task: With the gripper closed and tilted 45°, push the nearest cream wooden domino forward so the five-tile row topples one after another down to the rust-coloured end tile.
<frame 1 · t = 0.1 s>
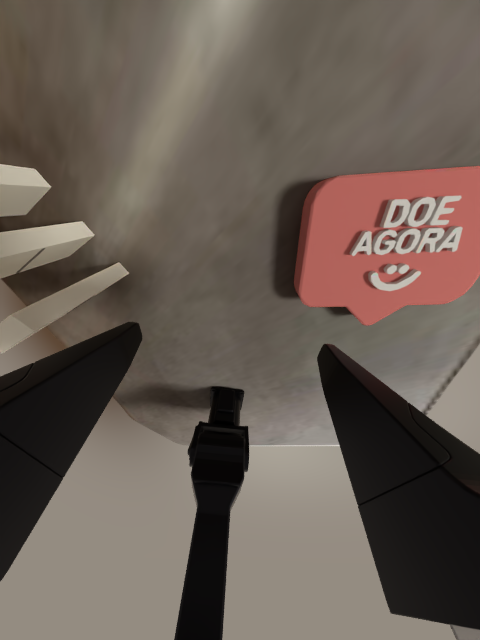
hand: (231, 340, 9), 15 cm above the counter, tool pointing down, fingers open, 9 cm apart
domino 1: (111, 276, 23), on the counter
plaque: (373, 256, 21), on the counter
domino 2: (75, 239, 21), on the counter
domino 3: (30, 193, 18), on the counter
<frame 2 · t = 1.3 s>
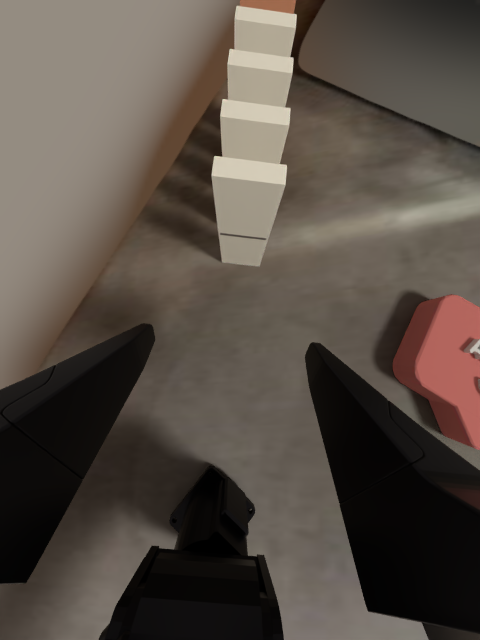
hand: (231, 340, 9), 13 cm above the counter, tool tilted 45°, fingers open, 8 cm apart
domino 1: (241, 258, 24), on the counter
plaque: (458, 379, 23), on the counter
domino 2: (244, 225, 25), on the counter
domino 3: (248, 194, 26), on the counter
domino 4: (251, 165, 26), on the counter
domino 5: (254, 138, 27), on the counter
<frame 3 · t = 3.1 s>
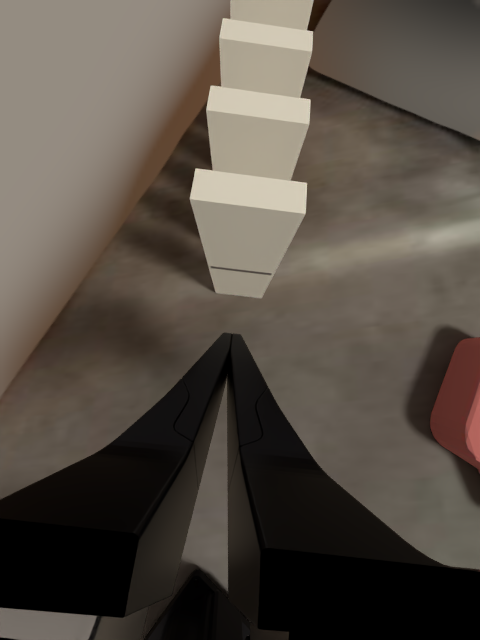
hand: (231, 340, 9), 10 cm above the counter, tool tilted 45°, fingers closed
domino 1: (239, 288, 20), on the counter
domino 2: (243, 247, 21), on the counter
domino 3: (248, 209, 21), on the counter
domino 4: (252, 176, 22), on the counter
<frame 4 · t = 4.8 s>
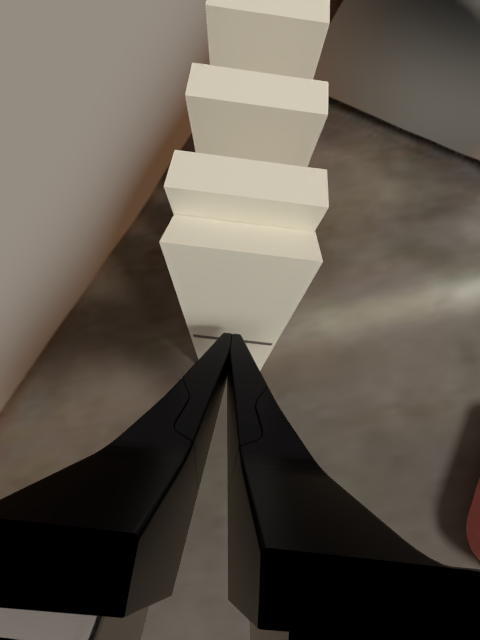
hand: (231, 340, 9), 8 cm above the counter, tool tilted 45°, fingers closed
domino 1: (230, 361, 16), on the counter, tilted 22°
domino 2: (236, 308, 17), on the counter, tilted 6°
domino 3: (241, 261, 18), on the counter
domino 4: (246, 219, 19), on the counter
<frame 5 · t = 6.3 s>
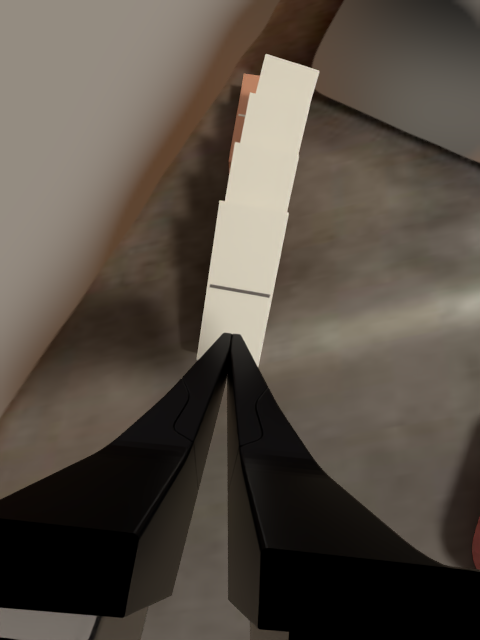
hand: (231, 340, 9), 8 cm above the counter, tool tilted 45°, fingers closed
domino 1: (227, 361, 15), point 1 cm above the counter, tilted 71°, touching domino 2
domino 2: (237, 303, 16), point 1 cm above the counter, tilted 71°, touching domino 1, domino 3
domino 3: (246, 251, 17), point 1 cm above the counter, tilted 71°, touching domino 2, domino 4
domino 4: (254, 205, 18), point 1 cm above the counter, tilted 74°, touching domino 3, domino 5
domino 5: (251, 172, 19), on the counter, tilted 89°, touching domino 4
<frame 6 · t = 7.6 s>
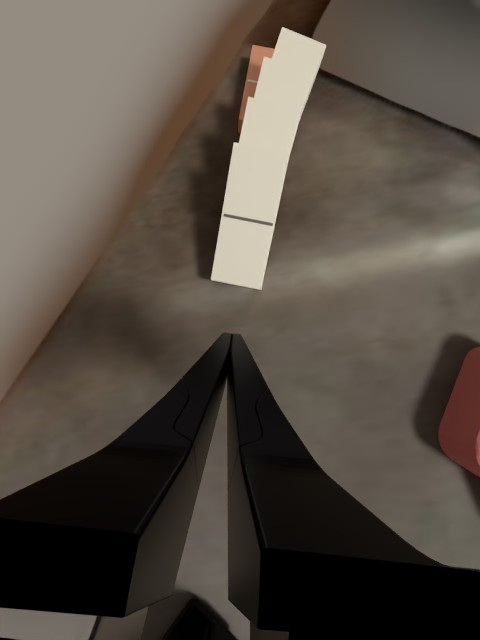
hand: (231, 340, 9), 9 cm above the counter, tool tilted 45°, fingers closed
domino 1: (236, 285, 18), point 1 cm above the counter, tilted 72°, touching domino 2
domino 2: (244, 239, 19), point 1 cm above the counter, tilted 71°, touching domino 1, domino 3
domino 3: (254, 197, 20), point 1 cm above the counter, tilted 71°, touching domino 2, domino 4
domino 4: (262, 158, 21), point 1 cm above the counter, tilted 74°, touching domino 3, domino 5
domino 5: (258, 131, 22), on the counter, tilted 89°, touching domino 4
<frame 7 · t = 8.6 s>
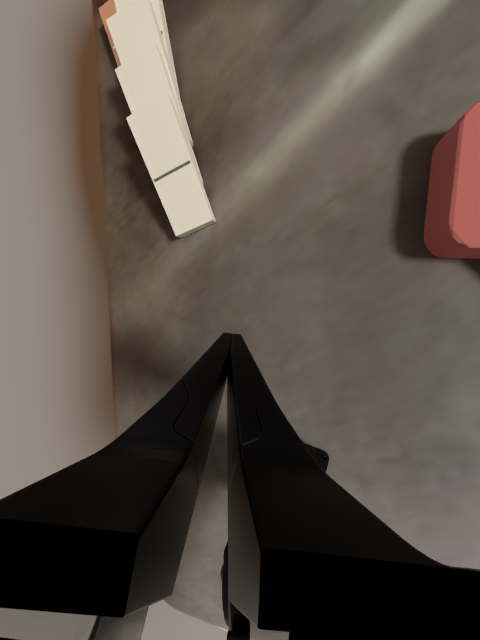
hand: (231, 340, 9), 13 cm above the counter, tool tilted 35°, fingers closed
domino 1: (196, 229, 22), point 1 cm above the counter, tilted 72°, touching domino 2
domino 2: (183, 189, 22), point 1 cm above the counter, tilted 71°, touching domino 1, domino 3
domino 3: (173, 150, 23), point 1 cm above the counter, tilted 71°, touching domino 2, domino 4
domino 4: (161, 110, 23), point 1 cm above the counter, tilted 76°, touching domino 3, domino 5
domino 5: (146, 86, 24), on the counter, tilted 89°, touching domino 4
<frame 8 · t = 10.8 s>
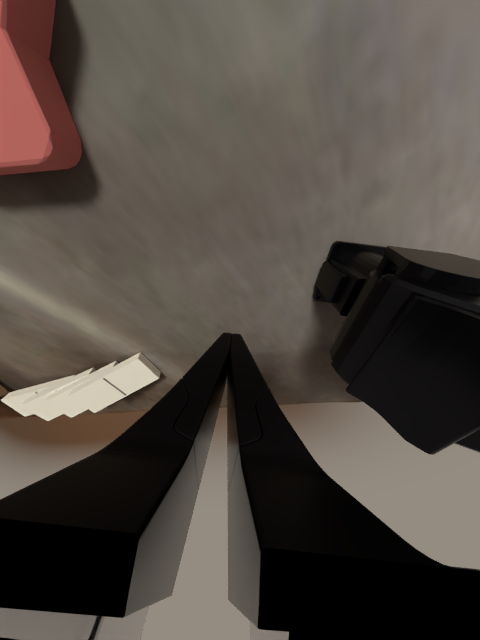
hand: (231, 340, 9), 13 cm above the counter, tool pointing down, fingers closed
domino 1: (150, 365, 29), point 1 cm above the counter, tilted 72°, touching domino 2
domino 2: (125, 373, 30), point 1 cm above the counter, tilted 72°, touching domino 1, domino 3
domino 3: (102, 379, 31), point 1 cm above the counter, tilted 72°, touching domino 2, domino 4
domino 4: (81, 387, 33), point 1 cm above the counter, tilted 78°, touching domino 3, domino 5
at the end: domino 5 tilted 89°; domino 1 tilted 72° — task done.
